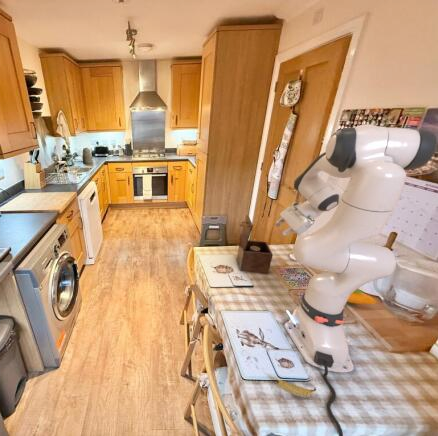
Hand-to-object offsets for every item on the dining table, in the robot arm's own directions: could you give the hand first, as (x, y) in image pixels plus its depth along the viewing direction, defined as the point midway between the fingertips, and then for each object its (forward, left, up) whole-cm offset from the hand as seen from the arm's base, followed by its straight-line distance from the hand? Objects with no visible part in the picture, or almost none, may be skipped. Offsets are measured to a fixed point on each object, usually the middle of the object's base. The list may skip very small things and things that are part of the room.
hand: (279, 229), depth 114 cm
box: (0, +9, -22) cm, 24 cm away
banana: (-65, +9, -23) cm, 69 cm away
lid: (0, +15, -3) cm, 15 cm away
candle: (+12, -17, -23) cm, 30 cm away
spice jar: (0, +9, -22) cm, 24 cm away
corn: (-20, -25, -23) cm, 39 cm away
